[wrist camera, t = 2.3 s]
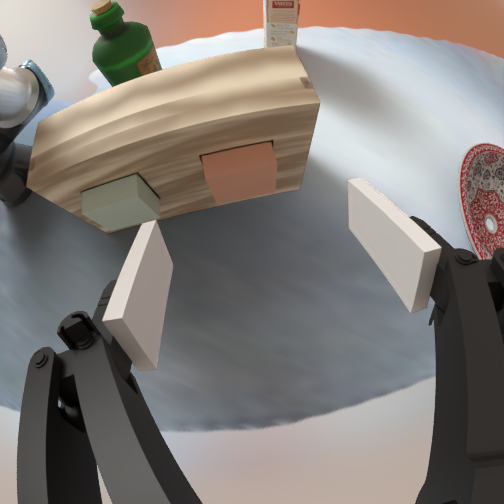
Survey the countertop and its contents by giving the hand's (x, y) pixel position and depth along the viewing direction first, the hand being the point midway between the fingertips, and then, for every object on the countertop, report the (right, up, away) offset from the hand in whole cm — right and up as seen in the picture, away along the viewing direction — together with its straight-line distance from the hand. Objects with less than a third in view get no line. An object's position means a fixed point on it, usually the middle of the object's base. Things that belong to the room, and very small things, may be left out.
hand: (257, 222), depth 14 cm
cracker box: (+6, +41, +40) cm, 57 cm away
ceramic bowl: (+48, +4, +30) cm, 57 cm away
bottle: (-21, +29, +39) cm, 53 cm away
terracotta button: (-1, +7, +25) cm, 26 cm away
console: (-10, +10, +34) cm, 37 cm away
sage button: (-17, +4, +25) cm, 31 cm away
